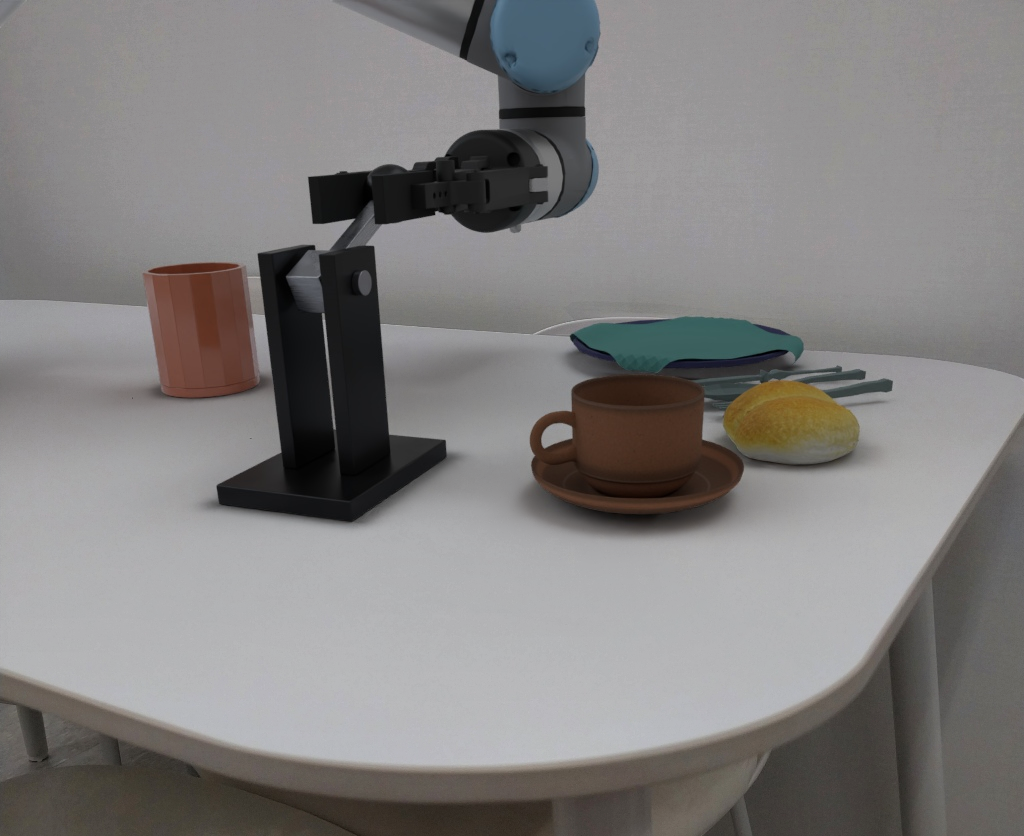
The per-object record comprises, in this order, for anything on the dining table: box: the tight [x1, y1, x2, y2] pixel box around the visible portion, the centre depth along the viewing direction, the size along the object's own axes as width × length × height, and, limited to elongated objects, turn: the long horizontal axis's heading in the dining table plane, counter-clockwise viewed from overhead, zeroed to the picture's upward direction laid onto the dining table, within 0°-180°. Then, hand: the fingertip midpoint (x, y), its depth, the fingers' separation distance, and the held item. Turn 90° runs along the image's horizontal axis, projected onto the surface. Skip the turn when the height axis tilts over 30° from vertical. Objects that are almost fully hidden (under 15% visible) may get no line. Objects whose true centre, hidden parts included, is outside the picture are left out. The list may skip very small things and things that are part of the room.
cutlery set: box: [569, 315, 894, 411], centre depth 83 cm, size 20×30×2 cm, turn 16°
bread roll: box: [722, 379, 861, 465], centre depth 63 cm, size 8×9×4 cm
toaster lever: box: [286, 163, 409, 314], centre depth 59 cm, size 13×4×4 cm, turn 158°
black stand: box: [215, 244, 448, 522], centre depth 57 cm, size 12×9×14 cm
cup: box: [141, 261, 260, 399], centre depth 82 cm, size 8×8×10 cm
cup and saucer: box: [529, 373, 745, 515], centre depth 55 cm, size 12×12×6 cm
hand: (347, 200), depth 57 cm, fingers closed on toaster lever, 4 cm apart
